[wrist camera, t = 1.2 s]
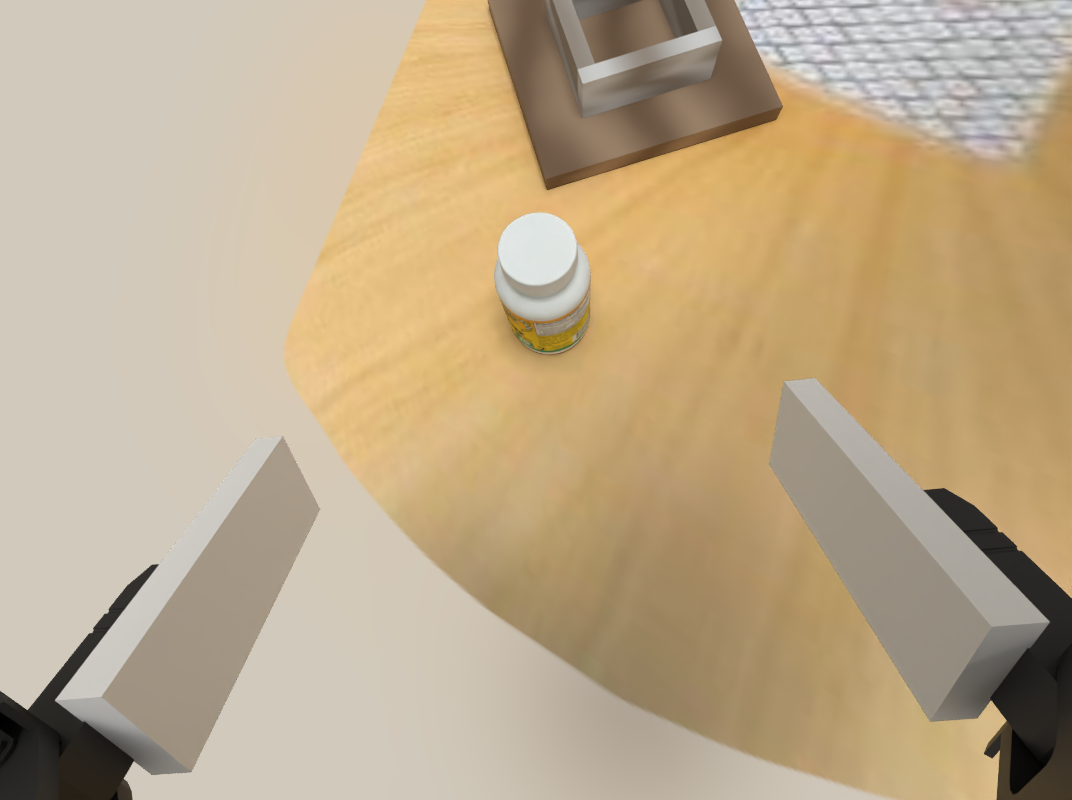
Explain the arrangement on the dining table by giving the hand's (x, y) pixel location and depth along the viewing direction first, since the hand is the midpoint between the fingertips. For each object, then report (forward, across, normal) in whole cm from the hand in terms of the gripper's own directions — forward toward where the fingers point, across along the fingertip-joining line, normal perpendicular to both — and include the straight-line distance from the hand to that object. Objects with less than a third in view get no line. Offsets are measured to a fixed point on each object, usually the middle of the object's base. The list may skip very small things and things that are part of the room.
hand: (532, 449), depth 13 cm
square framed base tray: (+35, +8, +9) cm, 37 cm away
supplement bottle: (+21, +1, -6) cm, 22 cm away
